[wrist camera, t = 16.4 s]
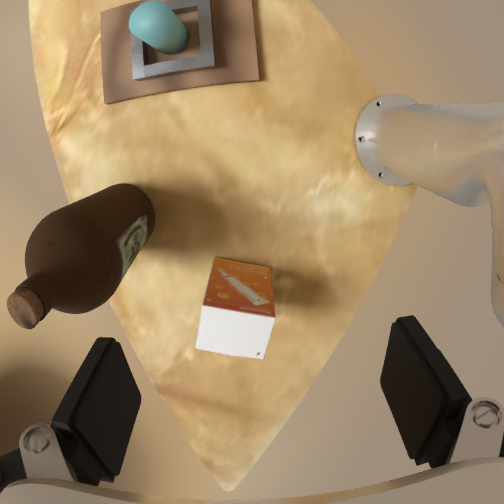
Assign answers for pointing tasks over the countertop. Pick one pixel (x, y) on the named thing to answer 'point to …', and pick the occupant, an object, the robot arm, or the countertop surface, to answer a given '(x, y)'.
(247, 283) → the small box
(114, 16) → the collar board
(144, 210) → the olive oil
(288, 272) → the countertop surface
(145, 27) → the teal peg
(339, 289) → the countertop surface
